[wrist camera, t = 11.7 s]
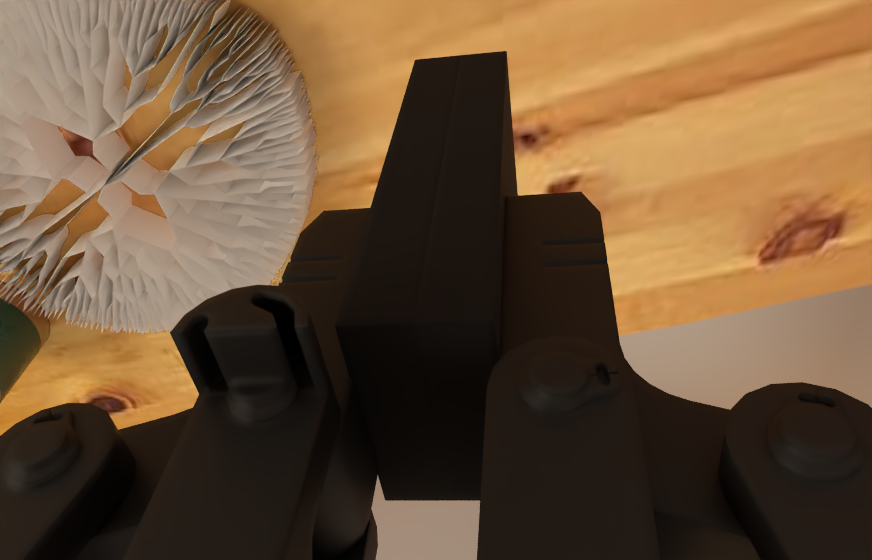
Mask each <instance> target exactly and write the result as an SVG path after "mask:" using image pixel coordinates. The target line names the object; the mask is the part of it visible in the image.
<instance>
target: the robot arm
mask: <svg viewBox="0 0 872 560" xmlns="http://www.w3.org/2000/svg"><path fill="white" fill-rule="evenodd" d="M290 258H291V262H288V264H287V267H286V269H285V272H284V274H283V276H282V283H280V284H279V286H270V285H252V286H246V287H240V288H235V289H231V290H228V291H226V292H223V293H221V294H218V295H216V296H213V297H211V298H209V299H206V300H205V301H203V302H202V303H201V304H199V305H198V306H196V307H195V308H193V309H192V310H190V311H189V312H188V313H186V314H185V315H184V316H183V317H182V319H181V320H180V321H179V322H178V323H177V325H176V326H175V327H174V328H173V329H172V331H171V332H170V334H171V336H172V338H173V340H174V342H175V344H176V346H177V348H178V350H179V352H180V355H181V357H182V359H183V361H184V363H185V365H186V367H187V369H188V371H189V373H190V376H191V378H192V380H193V382H194V384H195V386H196V388H197V390H198V392H199V396H198V398H197V401H196V403H195V405H194V407H193V408H191V409H188V410H185V411H183V412H180V413H177V414H174V415H171V416H167V417H163V418H160V419H156V420H153V421H149V422H145V423H142V424H138V425H135V426H131V427H127V428H124V429H120V430H118V429H117V427H116V426H115V424H114V422H113V421H112V419H111V417H110V416H109V414H108V412H107V411H106V410H103V409H101V408H99V407H97V406H95V405H93V404H90V403H66V404H63V405H59V406H55V407H52V408H48V409H44V410H41V411H39V412H37V413H35V414H34V415H32V416H30V417H28V418H26V419H24V420H22V421H20V422H18V423H16V424H15V425H14V426H12V427H11V428H10V429H9V430H7V431H6V432H5V433H4V434H2V435H1V436H0V560H375V559H376V553H377V547H378V542H377V526H376V522H375V520H374V516H373V513H372V510H371V506H372V502H373V496H374V491H375V486H376V480H377V475H378V476H379V480H380V483H381V487H382V490H383V494H384V497H385V500H480V516H479V533H478V551H477V560H872V408H871V407H870V406H869V405H868V404H866V403H863V402H861V401H859V400H857V399H855V398H853V397H851V396H849V395H847V394H845V393H843V392H840V391H838V390H836V389H832V388H827V387H822V386H817V385H812V384H807V383H802V382H801V383H783V384H770V385H768V386H765V387H762V388H760V389H757V390H755V391H752V392H749V393H747V394H745V395H744V396H743V397H742V398H741V399H740V401H738V403H737V404H736V405H735V406H734V407H733V408H732V409H731V410H729V409H724V408H720V407H715V406H711V405H707V404H702V403H698V402H693V401H689V400H686V399H683V398H680V397H676V396H674V395H671V394H668V393H666V392H664V391H662V390H660V389H658V388H656V387H655V386H652V385H651V384H649V383H648V382H647V381H645V380H644V379H643V378H642V377H640V376H639V375H638V374H637V373H636V372H635V371H634V370H633V369H632V367H631V366H630V365H629V363H628V362H627V361H626V359H625V358H624V355H623V352H622V349H621V346H620V342H619V335H618V328H617V322H616V315H615V308H614V302H613V295H612V288H611V282H610V275H609V268H608V264H607V255H606V248H605V242H604V235H603V228H602V221H601V214H600V212H599V211H598V209H597V208H596V207H595V206H594V205H593V204H592V203H591V202H590V201H589V200H588V199H587V198H586V197H585V196H584V195H583V193H582V192H569V193H554V194H538V195H523V196H518V194H517V181H516V168H515V155H514V142H513V129H512V116H511V103H510V90H509V77H508V65H507V52H506V51H502V52H492V53H481V54H471V55H460V56H450V57H440V58H429V59H419V60H415V62H414V66H413V69H412V72H411V76H410V79H409V82H408V85H407V89H406V92H405V95H404V99H403V102H402V105H401V109H400V112H399V115H398V119H397V122H396V125H395V129H394V132H393V135H392V139H391V142H390V145H389V148H388V152H387V155H386V158H385V162H384V165H383V168H382V172H381V175H380V178H379V182H378V185H377V188H376V192H375V195H374V198H373V202H372V205H371V208H363V209H348V210H332V211H323V212H322V213H321V214H320V215H319V216H318V217H317V218H316V219H315V220H314V221H313V222H312V223H311V224H310V225H309V226H308V227H306V228H305V229H304V230H303V231H302V232H301V233H300V236H299V238H298V241H297V243H296V245H295V248H294V250H293V253H292V255H291V257H290Z"/></svg>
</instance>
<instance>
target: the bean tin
mask: <svg viewBox="0 0 872 560" xmlns="http://www.w3.org/2000/svg"><path fill="white" fill-rule="evenodd" d="M4 286H5V284H4V283H1V284H0V290H1V289H2V288H3V287H4ZM7 286H8V285H7ZM7 286H6V287H5V288H4V289H3V290H2V291H1V292H0V296H1V295H2V294H3V293H4V292H5V291H6V290H7ZM13 288H14V287H11V288H10V289H9V290H8V291H7V292H6V293H5V294H4V295H2V296H1V297H0V403H1V402H2V400H3V399H4V398H5V396H6V395H7V394H8V392H9V391H10V390H11V388H12V387H13V386H14V384H15V383H16V382H17V380H18V379H19V377H20V376H21V375H22V373H23V372H24V371H25V369H26V368H27V367H28V365H29V364H30V363H31V361H32V360H33V359H34V357H35V356H36V355H37V353H38V352H39V350H40V348H41V347H42V345H43V344H44V343H45V341H46V340H47V339H48V336H49V332H50V327H49V322H48V319H47V317H45V318H44V316H45V314H44V312H42V314H41V315H40V313H41V310H42V309H41V308H40V307H39V309H38V310H37V308H38V304H37V305H36V306H35V307H34V306H33V305H34V303H35V302H34V301H33V300H32V302H31V303H30V304H29V305H28V306H27V308H26V309H25V310H24V311H23V309H24V304H25V301H26V300H27V299H28V298H29V296H28V297H26V298H25V299H23V297H24V296H25V295H26V294H23V295H22V293H23V292H20V293H19V294H17V295H16V296H15V297H14V299H13V300H12V301H11V302H10V300H11V299H12V297H13V296H14V295H15V294H16V292H17V291H18V289H16V290H15V291H14V292H13V293H12V294H11V295H10V296H9V298H8V299H7V300H6V301H5V299H6V296H7V295H8V294H9V293H10V292H11V290H12V289H13ZM21 295H22V296H21ZM19 298H20V299H19ZM22 299H23V300H22ZM21 300H22V301H21ZM20 301H21V302H20ZM9 302H10V303H9ZM19 302H20V303H19ZM18 303H19V304H18ZM32 306H33V307H34V309H33V310H32V308H33V307H32ZM31 307H32V308H31ZM30 308H31V309H30ZM29 309H30V310H29ZM31 310H32V311H31ZM36 310H37V311H36ZM35 311H36V312H35ZM29 313H30V314H29ZM34 313H35V314H34ZM39 315H40V316H39Z"/></svg>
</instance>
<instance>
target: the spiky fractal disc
mask: <svg viewBox="0 0 872 560" xmlns="http://www.w3.org/2000/svg"><path fill="white" fill-rule="evenodd" d="M220 1H221V0H220ZM220 1H219V0H215V1H214V2H213V0H208V1H207V0H0V216H1V215H2V214H3V213H4V212H5V211H6V210H7V209H9V208H14V207H18V206H23V205H26V208H25V210H24V211H22V212H20V213H18V214H16V215H14V216H11V217H9V218H7V219H5V220H3V221H1V222H0V248H1V247H3V246H4V245H6V244H8V243H10V242H12V241H14V242H12V243H11V244H10V245H8V246H7V247H5V248H4V249H3V250H1V251H0V265H1V263H3V262H6V263H5V264H4V265H3V266H2V267H1V268H0V274H1V273H3V272H4V271H9V274H10V273H11V272H12V271H13V270H14V269H15V268H16V267H17V265H18V264H19V263H20V262H21V261H22V260H24V259H27V258H30V257H33V258H31V259H30V260H29V261H28V262H27V263H26V264H25V265H24V266H23V267H22V268H21V269H19V270H18V271H17V272H16V273H15V274H14V275H13V277H12V278H11V279H10V280H9V281H8V282H7V283H6V284H5V286H4V287H3V288H2V289H1V290H0V292H1V291H2V290H3V289H4V288H5V287H6V286H7V285H8V286H7V290H6V291H5V292H4V293H3V294H2V295H4V294H5V293H6V292H7V291H8V290H9V289H10V288H11V287H12V285H13V284H14V283H15V282H16V281H17V280H18V279H19V277H20V276H21V275H22V274H23V273H24V272H25V271H26V269H27V272H26V273H25V275H24V277H23V278H22V279H21V280H20V281H19V282H18V284H17V285H16V286H15V287H14V288H13V289H12V290H11V292H10V293H9V294H8V295H7V296H6V299H5V301H6V300H7V299H8V298H9V296H10V295H11V294H12V293H13V292H14V291H15V290H16V288H17V287H18V286H19V285H20V284H21V283H22V281H23V280H24V279H25V278H26V277H27V274H28V272H29V271H30V269H31V268H32V267H33V266H34V265H35V264H36V263H37V261H38V260H39V259H40V258H41V257H42V256H43V254H44V253H45V252H46V253H47V256H48V257H47V260H46V262H45V265H44V266H43V267H41V268H40V269H38V270H37V271H35V272H34V273H33V274H32V275H31V276H30V277H29V279H28V280H27V281H26V282H25V283H24V284H23V286H22V287H21V288H20V289H19V290H18V291H17V292H16V294H15V295H14V296H13V297H12V299H11V300H10V302H11V301H12V300H13V299H14V297H15V296H16V295H17V294H19V293H20V292H22V291H23V290H24V289H25V290H24V292H23V293H22V295H23V294H24V293H25V291H26V290H27V289H28V288H29V287H30V286H31V284H32V283H33V282H34V281H35V280H36V278H37V277H38V276H39V280H38V281H37V282H36V283H35V284H34V286H33V287H32V288H31V289H30V290H29V292H28V293H27V294H26V295H25V296H24V297H23V299H25V298H26V297H28V296H30V297H29V298H28V299H27V300H26V301H25V304H24V309H23V311H24V310H25V309H26V308H27V306H28V305H29V304H30V303H31V302H32V300H33V299H34V298H35V297H36V295H37V294H38V293H39V292H40V291H41V289H42V288H43V287H44V284H45V279H46V277H47V276H48V274H49V273H50V272H51V271H52V270H53V268H54V267H55V265H56V263H57V261H58V259H59V257H60V251H61V247H62V245H63V244H64V242H65V240H66V238H67V235H68V233H69V230H68V227H67V224H68V223H69V222H70V221H71V220H72V219H73V218H74V217H75V216H76V215H77V214H78V213H79V212H80V211H81V210H82V208H83V207H84V206H85V205H86V204H87V203H88V202H89V201H90V200H91V199H92V198H93V197H94V196H95V195H96V194H97V193H98V192H99V191H100V190H101V189H102V191H101V193H100V195H99V198H98V200H97V202H98V203H99V204H100V205H101V206H102V207H103V208H104V209H105V210H106V211H107V212H108V213H109V215H108V216H107V217H106V218H105V219H104V221H103V222H102V223H101V224H100V226H99V227H98V228H97V229H95V230H92V231H89V232H86V233H83V234H82V235H81V237H80V238H79V239H78V240H77V241H76V243H75V244H74V245H73V246H72V247H71V249H70V250H69V251H68V252H67V253H66V255H65V256H64V257H63V258H62V260H61V261H60V263H59V265H58V267H57V268H56V270H55V272H54V273H53V275H52V277H51V278H50V280H49V282H48V283H47V285H46V287H45V288H44V290H43V292H42V293H41V295H40V297H39V298H38V300H37V301H36V302H35V303H34V305H33V306H34V307H35V306H36V305H37V304H38V302H39V301H40V300H41V299H42V297H43V296H44V295H45V294H46V293H47V291H48V290H49V289H50V287H51V286H52V284H53V282H54V281H55V279H56V278H57V276H58V274H59V273H60V271H61V269H62V268H63V266H64V264H65V263H66V261H67V259H68V258H69V256H72V255H75V254H78V253H81V252H84V251H85V254H84V256H83V257H82V258H81V259H79V260H78V261H77V262H76V263H75V264H74V265H73V266H72V267H71V268H70V269H69V271H68V272H67V273H66V274H65V276H64V277H63V278H62V279H61V280H60V281H59V282H58V283H57V284H56V285H55V287H54V288H53V289H52V290H51V292H50V293H49V294H48V295H47V297H46V298H45V299H44V300H43V302H44V301H46V302H45V304H44V306H43V308H42V310H41V313H40V315H41V314H42V312H43V311H44V310H45V309H46V310H45V313H44V314H45V316H44V318H45V317H46V315H47V314H48V313H49V311H50V310H51V312H50V314H49V316H48V318H49V317H50V315H51V314H52V313H53V311H54V310H55V315H56V314H57V312H58V311H59V310H60V308H61V307H62V310H61V312H60V314H59V316H60V315H61V314H62V312H63V311H64V310H65V308H66V307H67V306H68V304H69V306H68V309H67V312H66V315H65V317H66V324H68V322H69V321H70V319H71V318H72V317H73V318H72V322H71V325H72V324H73V322H74V321H75V319H76V318H77V317H78V315H79V314H80V313H81V315H80V317H79V319H78V320H77V321H76V323H75V324H77V323H78V325H79V324H80V322H81V321H82V323H81V327H82V325H83V324H84V322H85V321H86V324H85V328H86V327H87V325H88V324H89V322H90V321H91V329H92V328H93V326H94V325H95V323H96V322H97V327H96V330H97V328H98V327H99V325H100V324H101V322H102V331H101V333H102V332H103V330H104V329H105V327H106V330H105V332H106V331H107V329H108V328H109V326H110V325H111V323H112V322H113V324H112V326H111V330H110V332H111V331H112V329H113V332H114V331H115V332H116V334H117V333H118V334H119V332H120V330H121V329H122V327H123V332H124V330H125V333H127V332H128V330H129V334H130V333H131V331H132V330H133V331H134V334H135V332H136V330H138V334H139V332H141V334H142V333H144V334H145V333H148V332H149V330H150V328H151V331H152V334H153V333H154V332H155V333H156V331H158V333H159V332H160V330H161V333H162V331H163V329H164V333H165V331H166V330H167V331H168V332H169V331H170V330H171V331H172V329H173V328H174V327H175V326H176V325H177V323H178V322H179V321H180V320H181V319H182V317H183V316H184V315H185V314H186V313H188V312H189V311H190V310H192V309H193V308H195V307H196V306H198V305H199V304H201V303H202V302H203V301H205V300H206V299H209V298H211V297H213V296H216V295H218V294H221V293H223V292H226V291H228V290H231V289H235V288H240V287H246V286H252V285H270V283H271V281H272V279H274V278H275V276H276V274H277V272H278V271H279V268H281V269H282V267H283V264H284V262H285V261H286V258H287V256H288V254H289V253H291V250H292V248H293V246H294V243H295V241H296V239H297V236H298V234H299V232H300V230H301V228H302V226H303V223H304V221H305V219H306V216H307V214H308V212H309V209H310V207H309V205H310V203H311V200H312V194H313V193H312V192H313V187H314V183H315V181H314V180H315V178H316V175H317V173H318V171H316V170H317V168H316V166H317V165H316V164H317V162H318V160H319V158H320V156H317V157H314V154H315V152H316V151H315V149H316V147H317V145H314V144H315V141H316V139H315V138H316V136H317V134H315V132H316V130H315V131H313V129H314V126H315V124H316V123H314V124H311V123H312V121H313V119H309V118H310V116H311V114H312V113H310V114H309V115H308V113H309V111H310V109H311V108H312V107H310V108H308V106H309V104H310V102H309V103H308V101H309V99H310V98H307V99H305V98H306V97H307V95H308V94H307V95H306V93H307V92H305V91H306V89H307V88H306V89H303V90H301V89H302V88H303V86H304V84H305V82H304V83H301V82H302V81H303V79H304V77H303V78H301V77H302V75H303V74H302V75H301V76H300V77H298V76H299V74H300V73H301V71H302V70H299V71H295V72H291V73H289V72H290V70H291V68H292V67H293V65H294V64H295V62H296V61H295V62H294V63H293V64H291V62H292V61H293V60H291V61H290V62H288V63H287V61H288V60H289V58H290V57H291V55H292V54H293V53H291V54H289V55H287V56H285V54H286V53H287V51H288V50H289V49H287V50H285V48H286V47H287V46H288V45H287V46H286V47H285V48H283V49H282V50H281V51H280V52H279V53H277V52H278V51H279V50H280V48H281V47H282V45H283V44H284V43H285V42H284V43H283V44H282V45H281V46H280V47H279V48H277V49H276V50H275V51H274V52H273V53H272V54H271V52H272V51H273V49H274V48H275V47H276V45H277V44H278V42H279V41H280V40H281V39H280V40H278V41H277V42H276V43H275V44H274V45H273V46H272V47H271V48H269V49H268V47H269V46H270V45H271V43H272V42H273V41H274V39H275V38H276V37H277V35H278V34H279V33H280V32H278V33H277V34H276V35H275V36H274V37H272V35H273V34H274V33H275V31H276V30H277V29H278V28H277V29H276V30H274V31H272V32H271V33H269V34H267V35H266V36H265V37H264V38H263V40H262V41H261V42H260V44H259V45H258V46H257V47H256V49H255V50H254V51H253V53H252V54H251V55H250V56H248V57H247V58H246V59H244V60H241V61H237V60H238V58H240V57H241V56H242V55H243V54H244V53H245V52H246V51H247V50H248V49H249V48H250V47H251V46H252V45H253V44H254V43H255V42H256V41H257V40H258V39H259V38H260V36H261V35H262V34H263V32H264V31H265V30H266V29H267V27H268V26H269V25H270V24H271V23H270V24H269V25H268V26H267V27H266V28H265V29H264V30H263V31H262V32H261V33H260V34H259V35H258V36H257V37H256V38H255V39H254V40H253V41H251V43H250V44H249V45H248V46H247V47H246V48H245V49H244V50H243V51H242V52H241V53H240V54H239V56H238V57H237V58H236V59H235V61H234V62H233V63H232V64H231V65H230V67H229V68H228V69H227V70H226V72H225V73H224V74H222V75H221V76H220V77H217V78H214V79H212V80H209V81H207V80H208V79H209V78H210V76H211V75H212V74H213V73H214V72H215V70H216V69H217V68H218V67H219V66H220V65H221V64H222V63H224V62H225V61H226V60H228V58H229V57H230V56H231V55H232V54H233V53H234V52H235V51H236V50H237V49H239V48H240V47H241V46H242V45H243V44H244V43H245V42H246V41H247V40H248V39H250V38H251V36H252V35H253V34H254V33H255V31H256V30H257V29H258V28H259V27H260V25H261V24H262V23H263V22H264V21H263V22H262V23H261V24H260V25H259V26H257V27H256V28H255V29H254V30H253V31H252V32H251V33H250V34H249V35H248V36H247V37H245V35H246V34H247V32H248V31H249V30H250V29H251V28H252V26H253V25H254V24H255V23H256V22H257V20H258V19H259V18H260V17H261V16H260V17H259V18H258V19H257V20H256V21H255V22H254V23H253V24H251V25H250V26H249V27H248V28H247V29H246V30H245V31H244V33H243V34H242V35H241V36H240V37H239V38H238V40H237V41H236V42H235V43H234V44H233V46H232V47H231V49H230V50H229V51H228V52H227V53H226V54H225V55H224V56H223V57H222V59H221V60H220V61H219V62H218V63H217V64H216V66H215V63H216V60H217V59H218V57H219V56H220V54H221V53H222V52H221V53H220V54H219V55H218V56H217V58H216V59H215V60H214V61H213V62H212V63H211V65H210V66H209V67H208V68H207V69H206V70H205V72H204V74H203V75H202V77H201V78H200V80H199V81H198V87H197V89H196V90H194V91H192V92H190V91H189V86H188V81H189V79H190V77H191V75H192V73H193V71H194V69H195V68H196V66H197V64H198V63H199V61H200V60H201V59H202V57H203V56H204V55H205V54H206V53H207V52H208V51H209V50H210V49H211V48H212V47H214V46H215V45H216V44H218V43H219V42H220V41H222V40H223V39H225V38H226V37H227V36H228V35H229V33H230V32H231V31H232V30H233V29H234V28H235V27H236V26H237V24H238V23H239V22H240V21H241V20H242V19H243V17H244V16H245V14H246V12H247V11H248V9H249V8H250V7H249V8H248V9H247V11H246V12H245V13H244V14H243V15H242V16H241V17H240V18H239V19H238V21H237V22H236V23H235V24H234V25H233V26H232V27H231V28H229V29H228V30H227V31H226V32H225V33H223V32H224V31H225V29H226V28H227V26H228V25H229V24H230V22H231V21H232V19H233V18H234V16H235V15H236V14H237V13H236V14H235V15H234V16H233V17H232V18H231V19H230V20H229V21H228V22H227V24H226V25H225V26H224V27H223V28H222V30H221V31H220V32H219V33H218V34H217V36H216V37H215V39H214V40H213V42H212V43H211V45H210V46H209V48H208V49H207V51H206V52H205V54H204V55H203V56H202V52H203V48H204V45H205V43H206V41H207V39H208V37H209V36H210V35H212V34H213V33H214V31H215V30H216V29H217V28H218V27H219V26H220V25H221V24H222V23H223V22H224V21H225V20H226V19H227V18H228V17H229V16H230V15H229V16H228V17H227V18H226V19H224V20H223V21H222V22H220V23H219V24H218V25H216V24H217V23H218V22H219V21H220V20H221V19H222V17H223V16H224V15H225V14H226V13H227V10H228V7H229V4H230V1H231V0H227V1H226V2H225V3H224V4H223V5H222V6H221V7H220V8H219V9H218V10H217V11H216V12H215V14H214V17H213V20H212V23H211V26H210V29H209V31H208V33H207V34H206V35H205V36H204V37H203V39H202V40H201V41H200V42H199V43H198V44H197V46H196V47H195V49H194V51H193V53H192V54H191V56H190V58H189V60H188V62H187V63H186V66H185V70H184V74H183V78H182V81H181V82H180V84H179V86H178V87H177V89H176V90H175V92H174V94H173V97H172V99H171V101H170V103H169V106H170V111H171V114H172V113H174V112H177V111H179V110H181V109H182V108H183V107H184V105H185V104H186V103H189V102H192V101H195V100H197V99H200V98H203V99H202V101H201V103H200V105H199V106H198V107H197V108H196V109H195V110H193V111H192V112H191V113H189V114H188V115H186V116H185V117H184V118H182V119H181V120H180V121H178V122H177V123H176V124H174V125H173V126H172V127H170V128H169V129H168V130H166V131H165V132H164V133H162V134H161V135H160V136H158V137H157V138H156V139H155V140H153V141H152V142H151V143H149V144H148V145H147V146H145V147H144V148H143V149H142V150H140V151H139V152H138V153H136V152H137V151H138V150H139V149H140V148H141V147H142V146H143V145H144V143H145V142H146V141H147V140H148V139H149V138H150V137H151V136H152V135H153V134H154V133H155V132H156V130H157V129H158V128H159V127H160V126H161V125H162V124H163V123H164V122H165V120H166V119H167V118H168V117H169V116H170V115H171V114H170V115H169V116H168V117H167V118H166V119H165V120H164V121H163V122H162V123H161V125H160V126H159V127H158V128H157V129H156V130H155V131H154V132H153V133H152V134H151V135H150V136H149V137H148V138H147V139H146V140H145V141H144V142H143V143H142V144H141V146H140V147H139V148H138V149H137V150H136V151H135V152H134V153H133V154H132V155H131V156H130V157H129V158H128V159H127V160H126V161H125V159H126V157H127V154H128V152H129V150H130V148H129V147H128V146H127V145H126V144H125V142H124V141H123V140H122V139H121V138H120V137H119V136H118V135H117V134H116V133H115V130H116V129H118V128H120V127H121V126H122V125H123V124H124V123H125V122H126V120H127V119H128V118H129V117H130V116H131V115H132V114H133V113H134V112H135V111H136V110H137V109H138V108H139V107H140V106H141V105H144V104H147V103H149V102H152V101H153V100H154V99H155V98H156V96H157V95H158V94H159V93H160V92H161V91H162V90H163V89H164V88H165V87H166V86H167V85H168V84H169V83H170V81H171V80H172V79H173V77H174V75H175V74H176V72H177V70H178V69H179V67H180V65H181V64H182V62H183V60H184V59H185V57H186V55H187V54H188V52H189V50H190V49H191V47H192V45H193V44H194V42H195V40H196V39H197V37H198V35H199V34H200V32H201V30H202V29H203V27H204V25H205V24H206V22H207V20H208V19H209V17H210V15H211V14H212V12H213V10H214V9H215V7H216V5H217V4H218V3H219V2H220ZM212 2H213V3H212ZM211 3H212V4H211ZM239 5H240V4H239ZM241 8H242V7H241ZM241 8H240V9H241ZM205 10H206V11H205ZM204 11H205V13H204V14H203V16H202V18H201V19H200V21H199V23H198V24H197V26H196V28H195V29H194V31H193V33H192V34H191V36H190V38H189V39H188V41H187V43H186V45H185V46H184V48H183V50H182V51H181V53H180V55H179V56H178V58H177V60H176V61H175V63H174V65H173V66H172V68H171V70H170V72H169V73H168V75H167V77H166V78H165V80H164V82H163V83H162V84H161V85H158V86H156V87H153V88H151V89H148V90H145V88H146V84H147V80H148V77H149V73H150V69H151V68H153V67H154V66H156V65H157V64H158V63H159V62H160V61H161V60H162V59H163V58H164V57H165V56H166V55H167V54H168V53H169V52H170V51H171V50H172V49H173V48H174V47H175V46H176V45H177V44H178V43H179V42H180V41H181V40H182V39H183V38H184V37H185V36H186V35H187V34H188V32H189V31H190V30H191V29H192V27H193V25H194V23H195V21H196V20H197V18H198V17H199V16H200V15H201V14H202V13H203V12H204ZM253 12H254V11H253ZM253 12H252V14H253ZM258 13H259V12H258ZM258 13H257V14H258ZM252 14H251V15H250V16H249V17H248V18H247V19H246V20H245V22H244V23H243V24H242V25H241V26H240V27H239V28H238V30H237V32H236V34H235V36H234V38H233V39H235V38H236V37H237V36H238V35H239V34H240V33H241V32H242V31H243V30H244V29H245V28H246V27H247V26H248V24H249V23H250V22H251V21H252V20H253V19H254V17H255V16H256V15H257V14H256V15H255V16H254V17H253V18H252V19H251V20H250V18H251V16H252ZM249 20H250V21H249ZM167 23H168V35H167V38H166V40H165V42H164V45H163V47H162V49H161V52H160V54H159V55H158V56H156V57H154V55H155V53H156V50H157V47H158V45H159V42H160V39H161V37H162V34H163V31H164V28H165V25H166V24H167ZM273 26H274V25H273ZM271 37H272V38H271ZM270 38H271V39H270ZM233 39H232V40H233ZM269 39H270V40H269ZM231 42H232V41H231ZM231 42H230V43H231ZM230 43H229V44H230ZM229 44H228V45H229ZM228 45H227V46H228ZM227 46H226V47H227ZM226 47H225V48H226ZM225 48H224V49H225ZM267 49H268V50H267ZM266 50H267V51H266ZM284 50H285V51H284ZM265 51H266V52H265ZM263 52H265V53H264V54H263V55H261V54H262V53H263ZM260 55H261V56H260ZM201 56H202V57H201ZM258 56H259V57H258ZM284 56H285V57H284ZM257 57H258V58H257ZM256 58H257V60H256V61H255V62H254V63H253V64H252V65H251V66H250V67H249V68H248V69H247V71H246V72H243V73H240V74H237V73H238V72H240V71H241V70H243V69H244V68H245V67H246V66H247V65H249V64H250V63H251V62H252V61H254V60H255V59H256ZM286 63H287V64H286ZM290 64H291V65H290ZM126 65H128V68H129V71H130V73H131V76H132V82H131V86H130V90H128V89H127V87H126V86H125V74H126ZM266 72H268V73H267V74H265V75H264V76H263V77H262V78H261V79H259V80H258V81H257V82H255V83H254V84H252V85H251V86H249V87H248V88H246V89H245V90H244V91H242V92H241V93H239V94H238V95H236V96H235V97H233V98H231V99H229V100H227V101H225V102H222V101H224V100H226V99H228V98H230V97H232V96H233V95H235V94H236V93H237V92H239V91H240V90H242V89H243V88H244V87H246V86H247V85H249V84H250V83H251V82H253V81H254V80H255V79H257V78H258V77H260V76H261V75H262V74H264V73H266ZM234 75H235V76H234ZM230 78H231V79H230ZM300 78H301V79H300ZM223 81H226V82H225V83H224V84H222V85H221V86H220V87H218V88H217V89H216V90H214V89H215V87H216V86H217V85H218V84H219V83H220V82H223ZM304 92H305V93H304ZM220 102H222V103H220ZM209 103H220V104H217V105H214V106H208V105H207V104H209ZM218 118H219V119H218ZM216 119H217V120H216ZM214 120H215V121H214ZM245 120H246V122H245V123H244V125H243V126H242V127H241V129H240V130H239V132H238V133H237V135H236V136H235V137H233V138H229V139H224V140H220V141H215V142H211V143H206V144H202V143H203V141H204V140H206V139H208V138H210V137H212V136H214V135H216V134H218V133H220V132H222V131H225V130H227V129H229V128H231V127H233V126H235V125H237V124H239V123H241V122H243V121H245ZM212 121H213V122H212ZM210 122H212V124H211V125H210V126H209V128H208V129H207V130H206V132H205V133H204V134H203V136H202V137H201V138H200V140H199V141H198V143H197V144H196V146H192V147H188V148H186V149H185V150H184V152H183V153H182V154H181V156H180V157H179V158H178V160H177V161H176V162H175V164H174V165H173V166H172V168H171V169H170V170H169V171H158V170H157V169H155V168H154V167H152V166H151V165H150V164H148V163H147V162H146V161H144V160H143V159H142V157H143V156H144V155H146V154H147V153H148V152H150V151H151V150H152V149H154V148H155V147H156V146H158V145H159V144H160V143H162V142H163V141H164V140H166V139H167V138H169V137H170V136H171V135H173V134H174V133H176V132H177V131H178V130H180V129H181V128H183V127H184V126H185V127H190V128H194V129H195V128H197V127H200V126H203V125H206V124H208V123H210ZM58 126H59V127H62V128H64V129H66V130H69V131H71V132H73V133H76V134H78V135H80V136H82V137H85V138H87V139H89V140H92V141H93V155H94V156H95V157H96V158H97V159H98V160H99V161H100V162H101V163H102V164H103V165H104V166H105V167H106V168H107V169H106V168H105V167H104V166H102V165H101V164H99V163H98V162H97V161H95V160H94V159H92V158H91V157H90V156H75V155H74V153H73V151H72V150H71V148H70V146H69V145H68V143H67V141H66V140H65V138H64V136H63V135H62V133H61V131H60V130H59V128H58ZM135 153H136V154H135ZM134 154H135V155H134ZM133 155H134V156H133ZM219 160H220V161H219ZM124 161H125V162H124ZM62 179H67V180H68V181H70V182H71V183H73V184H74V185H76V186H77V187H79V188H80V189H82V190H83V191H84V192H86V193H84V194H83V195H82V196H80V197H79V198H78V199H76V200H75V201H74V202H72V203H71V204H70V205H68V206H67V207H65V208H64V209H63V210H61V211H60V212H58V213H57V214H56V215H52V214H48V213H46V214H43V215H40V216H37V217H35V218H33V219H31V220H29V221H25V222H23V221H24V220H25V219H26V218H27V217H28V216H29V215H30V214H31V213H32V212H33V211H34V210H35V209H36V208H37V207H38V206H39V205H40V204H41V203H42V202H43V199H44V198H45V197H46V196H47V195H48V194H49V193H50V192H51V191H52V190H53V189H54V188H55V187H56V186H57V184H58V183H59V182H60V181H61V180H62ZM122 182H123V183H124V184H125V185H127V186H128V187H130V188H131V189H132V190H134V191H135V192H137V193H138V194H154V196H155V197H156V199H157V201H158V203H159V205H160V207H161V208H162V210H163V212H164V214H165V216H166V218H167V219H166V218H164V217H161V216H158V215H156V214H154V213H151V212H149V211H146V210H144V209H142V208H139V207H137V206H134V205H132V193H131V192H130V191H129V190H128V188H127V187H126V186H125V185H124V184H123V183H122ZM94 193H95V194H94ZM93 194H94V195H93ZM92 195H93V196H92ZM90 196H92V197H91V198H90V199H89V200H88V201H87V202H86V203H85V204H84V206H83V207H82V208H81V209H80V210H79V211H78V212H77V213H76V214H75V215H74V217H73V218H72V219H71V220H70V221H69V222H68V223H67V224H66V225H64V226H62V227H59V229H58V230H57V231H56V232H53V233H50V234H47V235H44V232H45V230H47V229H48V228H49V227H51V226H52V225H53V224H55V223H56V222H58V221H59V220H60V219H62V218H63V217H64V216H65V215H67V214H68V213H69V212H71V211H72V210H73V209H75V208H76V207H77V206H79V205H80V204H81V203H83V202H84V201H85V200H87V199H88V198H89V197H90ZM101 254H102V255H103V256H104V259H103V257H102V255H101ZM9 274H8V275H9ZM8 275H7V276H6V277H5V278H4V279H3V280H2V282H3V281H4V280H5V279H6V278H7V277H8ZM78 275H79V277H78V280H77V282H75V277H76V276H78ZM2 282H1V283H2ZM1 283H0V284H1ZM75 283H76V285H75ZM2 295H1V296H2ZM22 295H21V296H22ZM1 296H0V297H1ZM19 299H20V298H19ZM23 299H22V300H23ZM22 300H21V301H22ZM21 301H20V302H21ZM10 302H9V303H10ZM20 302H19V303H20ZM43 302H42V303H41V304H40V305H39V306H38V308H37V310H38V309H39V307H40V306H41V305H42V304H43ZM19 303H18V304H19ZM33 306H32V307H33ZM32 307H31V308H32ZM34 307H33V308H32V310H33V309H34ZM31 308H30V309H31ZM30 309H29V310H30ZM32 310H31V311H32ZM37 310H36V311H37ZM36 311H35V312H36ZM81 311H82V312H81ZM29 314H30V313H29ZM34 314H35V313H34ZM40 315H39V316H40ZM55 315H54V316H55ZM59 316H58V318H59ZM53 318H54V317H53ZM53 318H52V319H53ZM58 318H57V319H58ZM82 319H83V320H82ZM55 322H56V321H55ZM75 324H74V325H75ZM71 325H70V326H71ZM78 325H77V326H78ZM81 327H80V328H81ZM118 331H119V332H118Z"/></svg>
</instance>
